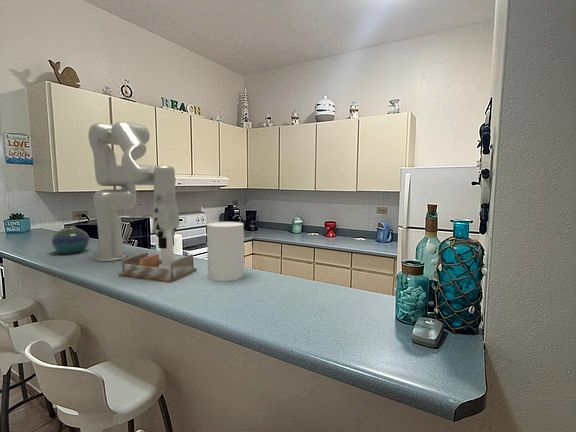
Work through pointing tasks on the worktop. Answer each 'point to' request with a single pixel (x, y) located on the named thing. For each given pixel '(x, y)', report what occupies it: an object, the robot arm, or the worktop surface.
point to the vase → (70, 240)
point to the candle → (167, 251)
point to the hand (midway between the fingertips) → (166, 246)
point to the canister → (225, 250)
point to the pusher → (150, 261)
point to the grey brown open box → (157, 269)
